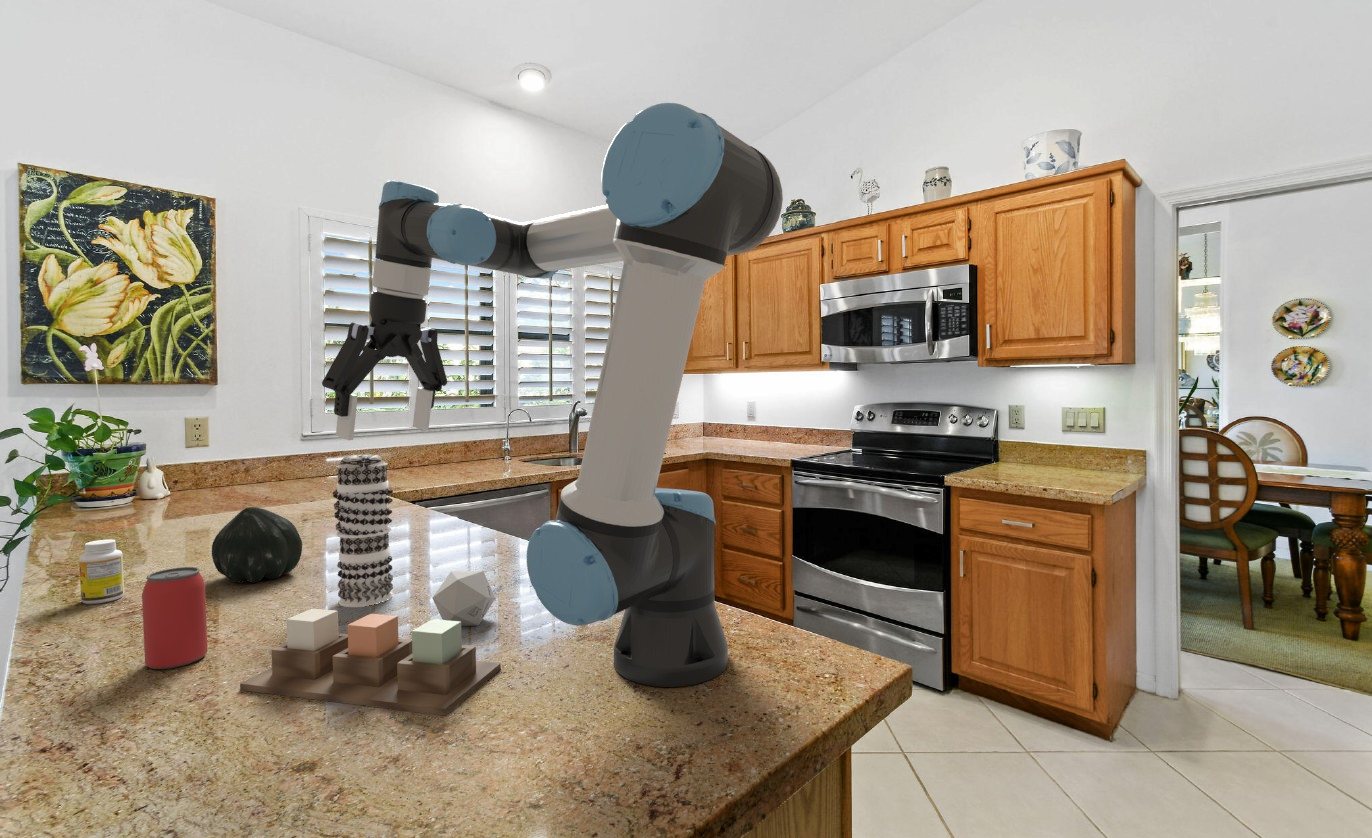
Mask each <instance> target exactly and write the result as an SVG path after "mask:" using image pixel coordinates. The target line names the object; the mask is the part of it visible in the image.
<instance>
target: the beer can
mask: <svg viewBox="0 0 1372 838" xmlns="http://www.w3.org/2000/svg"><path fill="white" fill-rule="evenodd" d="M200 571H201V569H200V568H198V567H194V566H185V567H183V566H182V567H174V568H167V569H163V570H157V571H155V572H151V573H150V574H148V575H147V576H146V581H145V585H144V586H143V589H142V594H141V599H142V600H141V602H142V626H143V648H144V649H143V651H144V664H145V665H146V666H147V667H148V668H149V669H153V670H167V669H168V670H170V669H174V668H175V669H176V668H180V667H185V666H187V665H189V664H192V663H195V662H197V661H199V660H201V659H202V658H204V656H205V655H206V654H207V652H208V629H207V627H208V626H207V604H206V599H207V598H206V582H205V581H204V577H203V576H202V574H201V572H200Z"/></svg>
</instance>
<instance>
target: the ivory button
mask: <svg viewBox="0 0 1372 838" xmlns="http://www.w3.org/2000/svg"><path fill="white" fill-rule="evenodd" d="M338 633H339V611H338V610H333V609H332V610H331V609H322V608H321V609H320V608H310V609H307V610H305V611H303V612H301V613H298V614H296V615H293V616H291V617H288V618H286V636H287V637H286V638H287V639H286V641H287V642H286V643H287V648H291V649H300V650H310V651H315V650H317V649H319V648H321V647H323V646H325V645H327V644H329V643H331V642H333V641H335V640H337V639H339V634H338Z"/></svg>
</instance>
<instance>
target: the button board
mask: <svg viewBox="0 0 1372 838" xmlns="http://www.w3.org/2000/svg"><path fill="white" fill-rule="evenodd" d="M338 634H339V639H337V640H335V641H333V642H331V643H329V644H327V645H325V646H323V647H321V648H319V649H317V650H315V651H310V650H300V649H291V648H287V642H285V643H283V644H280V645H277V646H276V647H274V648H272V649H271V651H270V652H271V668H269V669H267V670H264V671H262V672H260V673H258V674H256V675H254V676H252V677H250V678H248V679H246V680H244V681H242V682H240V683H239V690H240V691H247V692H253V693H259V694H270V695H276V696H284V697H294V698H301V699H310V700H317V701H325V702H333V703H341V704H349V705H356V706H363V705H366V706H365V707H371V708H380V709H387V710H388V709H389V710H394V711H395V710H398V711H403V712H404V711H406V712H412V713H420V714H428V715H435V716H442V717H445V716H448V714H450V713H451V712H452V711H454V710H455V708H456V707H458V706H459V705H461V703H463V702H464V701H465V700H466V699H467V698H469V696H471V695H472V694H473V693H474V692H476V691H477V690H478V689H479V688H480V687H482V686H483V685H484V684H485V683H486V682H487V681H488V680H490V679H491V678H492V677H493V676H495V675H496V674H498V672H499V671H500V670H501V668H502V667H501V664H502V663H500V662H493V661H491V662H490V661H483V660H482V661H481V660H477V648H476V645H475V646H474V645H465V644H462V652H460V653H459V654H458V655H456V656H455V657H453V658H452V659H451V660H449V661H448V662H446V663H445V664H443V665H442V664H433V663H423V662H414V661H413V654H412V639H407V638H406V639H404V638H398V639H399V645H398V646H396V647H394V648H393V649H391V650H389V651H387V652H386V653H384V654H382V655H381V656H379V657H377V658H376V657H367V656H357V655H348V633H343V632H342V633H341V632H338ZM372 706H373V707H372Z"/></svg>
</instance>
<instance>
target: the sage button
mask: <svg viewBox="0 0 1372 838" xmlns="http://www.w3.org/2000/svg"><path fill="white" fill-rule="evenodd" d="M411 640H412V654H413V661H414V662H423V663H433V664H442V665H443V664H445V663H446V662H448V661H449V660H451V659H452V658H453V657H455V656H456V655H458V654H459V653H460V652H462V645H463V644H462V642H463V641H462V626H461V622H460V621H449V620H442V619H436V618H431V619H430V620H429V621H427V622H425V623H423V624H421V625H419V626H417V627H416V628H415V629H413V630H411Z"/></svg>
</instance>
